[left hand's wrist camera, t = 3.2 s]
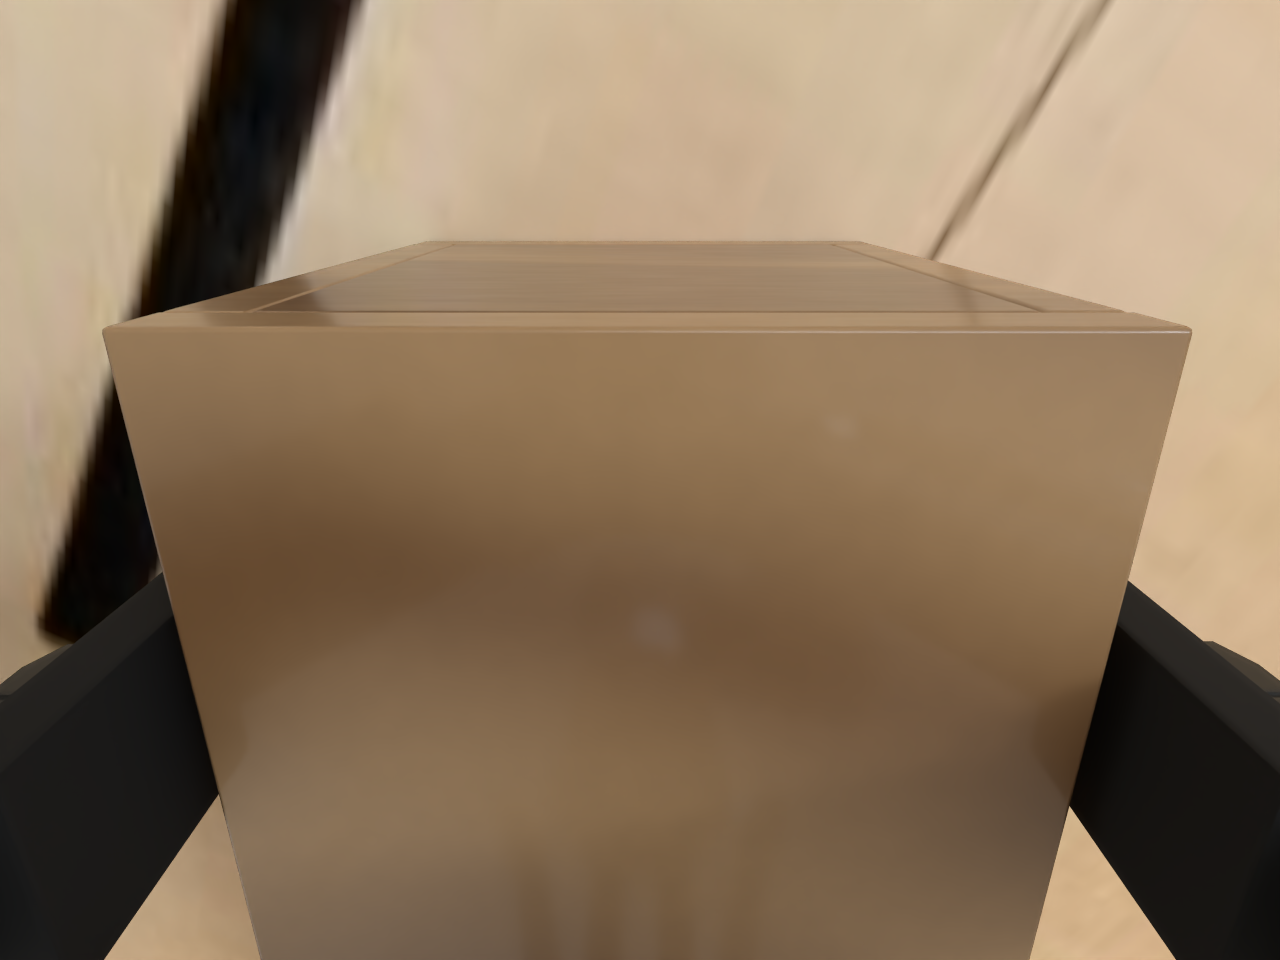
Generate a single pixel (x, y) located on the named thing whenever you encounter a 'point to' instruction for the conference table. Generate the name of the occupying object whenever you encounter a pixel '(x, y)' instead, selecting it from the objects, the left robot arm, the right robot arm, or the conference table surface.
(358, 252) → the conference table surface
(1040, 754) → the cabinet
